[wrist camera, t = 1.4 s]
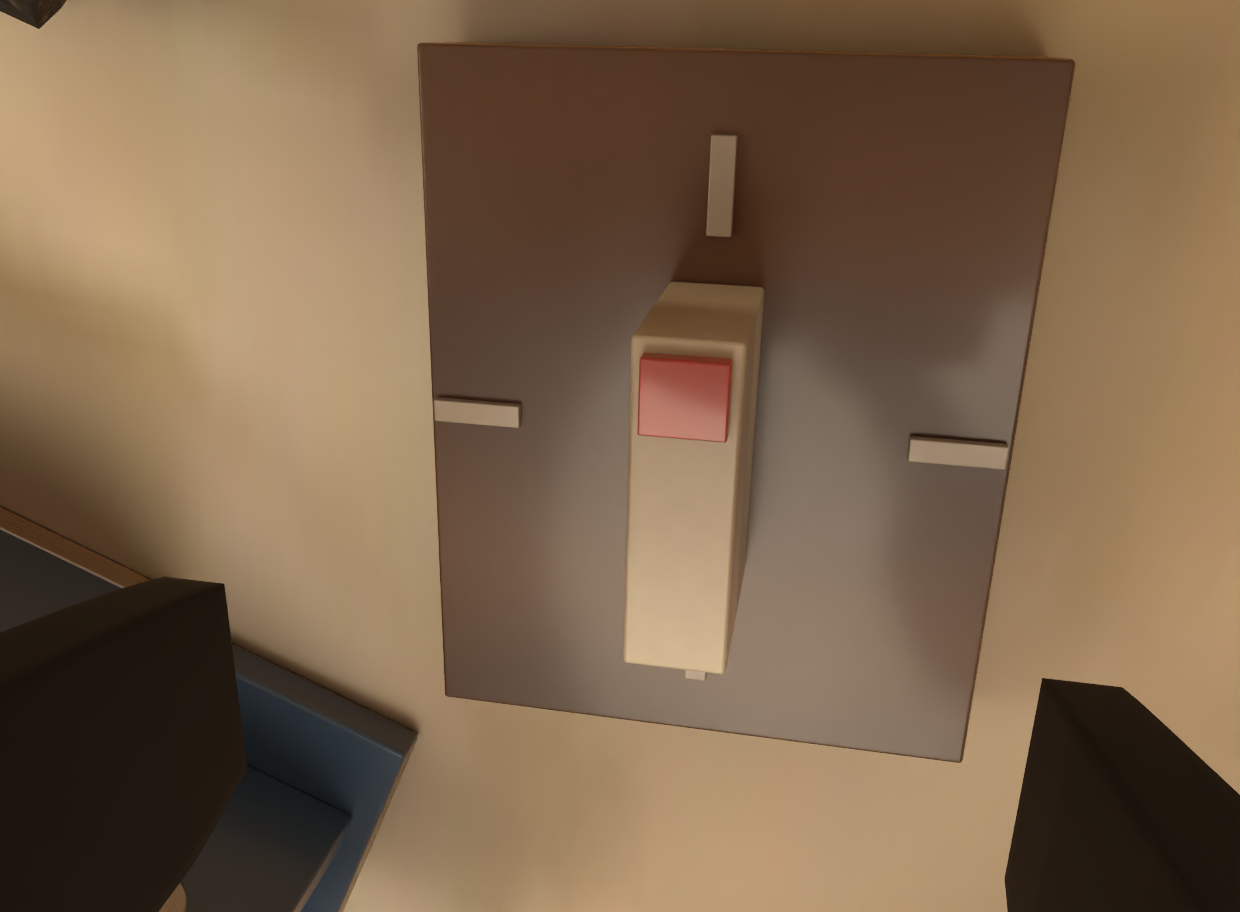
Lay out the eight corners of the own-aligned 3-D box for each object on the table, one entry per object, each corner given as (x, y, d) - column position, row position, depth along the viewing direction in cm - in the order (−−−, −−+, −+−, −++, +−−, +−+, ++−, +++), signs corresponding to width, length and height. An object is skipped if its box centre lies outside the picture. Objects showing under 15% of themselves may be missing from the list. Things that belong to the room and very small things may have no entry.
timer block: (951, 697, 20) (963, 770, 18) (478, 640, 21) (441, 702, 19) (1049, 57, 16) (1079, 60, 14) (460, 42, 17) (411, 42, 15)
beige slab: (745, 569, 18) (724, 686, 14) (658, 560, 18) (619, 673, 15) (765, 286, 16) (745, 348, 13) (669, 281, 16) (626, 339, 13)
